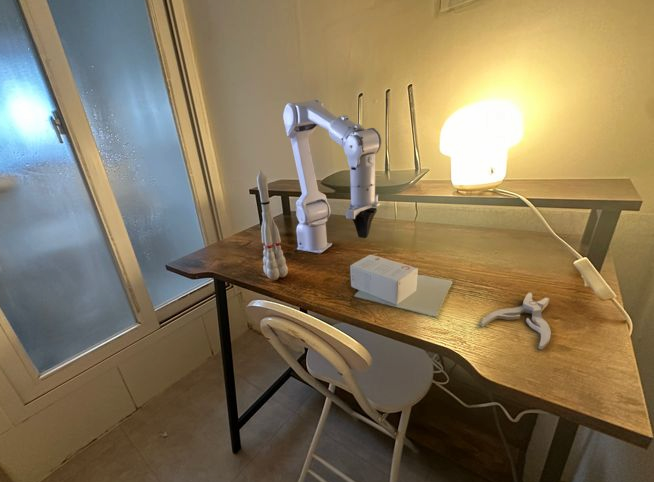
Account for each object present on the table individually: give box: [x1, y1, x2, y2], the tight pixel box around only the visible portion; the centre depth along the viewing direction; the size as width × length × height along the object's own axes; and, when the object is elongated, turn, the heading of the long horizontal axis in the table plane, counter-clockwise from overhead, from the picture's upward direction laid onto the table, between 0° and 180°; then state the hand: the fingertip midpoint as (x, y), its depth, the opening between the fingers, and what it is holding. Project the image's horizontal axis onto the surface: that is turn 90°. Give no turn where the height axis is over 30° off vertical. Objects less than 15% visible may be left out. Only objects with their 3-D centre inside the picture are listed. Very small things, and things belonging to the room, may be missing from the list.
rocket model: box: [256, 169, 289, 281], centre depth 81 cm, size 7×7×30 cm
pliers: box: [479, 292, 552, 351], centre depth 58 cm, size 10×2×15 cm
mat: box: [353, 273, 453, 318], centre depth 73 cm, size 18×16×1 cm
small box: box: [349, 254, 419, 305], centre depth 72 cm, size 8×6×13 cm
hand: (363, 236), depth 79 cm, fingers closed
